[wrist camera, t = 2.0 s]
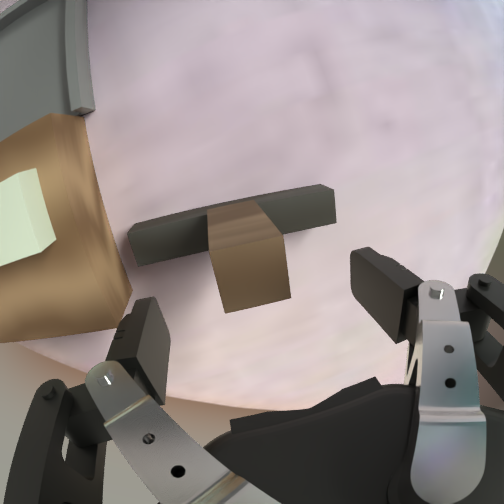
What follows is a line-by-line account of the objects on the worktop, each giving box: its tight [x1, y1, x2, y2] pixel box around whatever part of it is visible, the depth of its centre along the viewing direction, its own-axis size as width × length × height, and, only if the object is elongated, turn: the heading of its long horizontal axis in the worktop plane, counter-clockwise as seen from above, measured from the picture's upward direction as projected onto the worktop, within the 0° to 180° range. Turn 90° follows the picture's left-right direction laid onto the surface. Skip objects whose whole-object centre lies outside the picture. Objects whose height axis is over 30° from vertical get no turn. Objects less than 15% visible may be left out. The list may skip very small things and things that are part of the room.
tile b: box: [0, 168, 56, 266], centre depth 12 cm, size 4×4×2 cm
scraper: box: [127, 184, 336, 314], centre depth 16 cm, size 3×14×10 cm, turn 100°
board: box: [0, 113, 133, 343], centre depth 15 cm, size 14×16×5 cm
